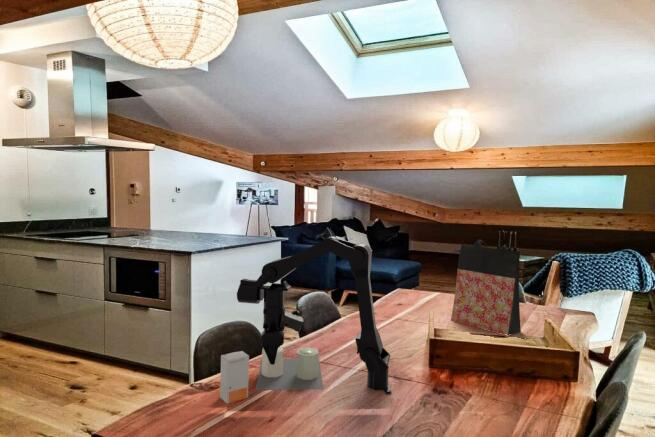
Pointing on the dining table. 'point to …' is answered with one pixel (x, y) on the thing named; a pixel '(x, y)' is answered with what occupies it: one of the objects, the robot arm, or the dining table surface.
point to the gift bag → (487, 288)
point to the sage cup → (307, 363)
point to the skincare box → (234, 376)
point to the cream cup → (270, 369)
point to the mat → (288, 379)
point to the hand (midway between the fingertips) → (273, 358)
